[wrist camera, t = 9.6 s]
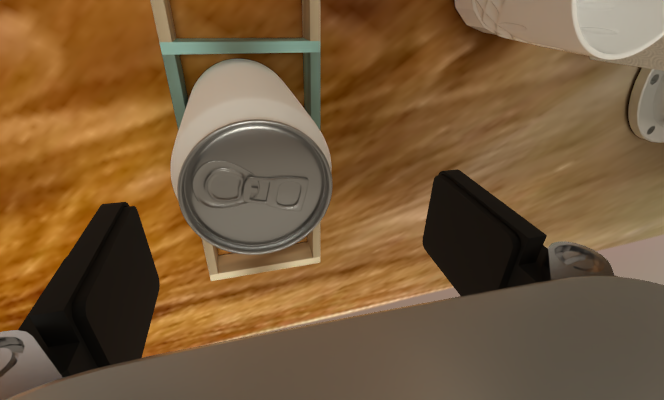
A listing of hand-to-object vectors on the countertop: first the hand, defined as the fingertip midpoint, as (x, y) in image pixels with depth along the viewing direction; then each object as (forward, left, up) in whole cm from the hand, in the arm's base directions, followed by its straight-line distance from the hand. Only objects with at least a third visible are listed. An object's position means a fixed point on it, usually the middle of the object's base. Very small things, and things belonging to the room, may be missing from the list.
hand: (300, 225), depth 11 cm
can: (+1, 0, -15) cm, 15 cm away
